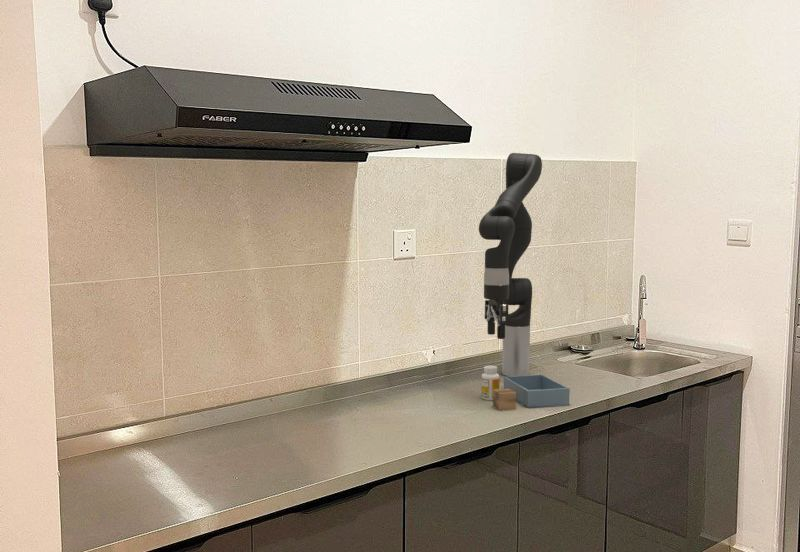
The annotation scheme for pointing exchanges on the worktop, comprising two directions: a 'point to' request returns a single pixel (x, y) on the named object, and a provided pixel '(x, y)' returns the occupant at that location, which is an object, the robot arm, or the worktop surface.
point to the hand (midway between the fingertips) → (496, 336)
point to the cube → (504, 399)
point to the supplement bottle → (489, 382)
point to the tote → (537, 391)
